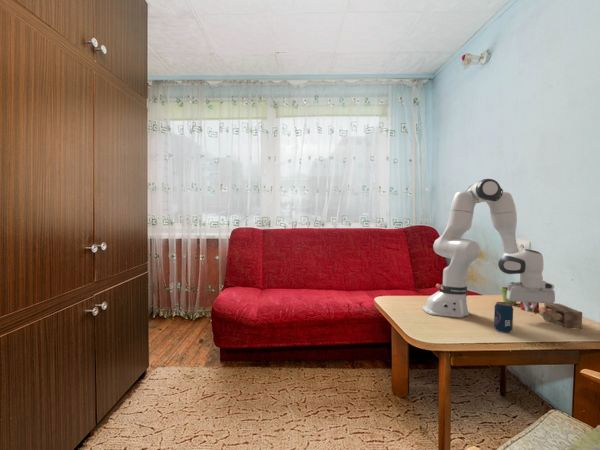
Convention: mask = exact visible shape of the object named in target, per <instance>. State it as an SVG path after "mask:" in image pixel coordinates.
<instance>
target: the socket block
mask: <svg viewBox="0 0 600 450" xmlns="http://www.w3.org/2000/svg"><path fill="white" fill-rule="evenodd" d="M543 304H544V306H543V307H545V308H546V309H553V313H561V314H564V321H559V320H551V321H550V322H551V323H553V324H556V325H558V326H560V327H561V328H563V329H572V328H576V330H582V328H583V312H582V311H579V310H577V309H574V308H572V307H569V306H568V305H564V304H561V303H556V302H554V303H553V304H549V303H543Z"/></svg>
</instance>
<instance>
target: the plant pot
mask: <svg viewBox="0 0 600 450" xmlns="http://www.w3.org/2000/svg"><path fill="white" fill-rule="evenodd" d="M500 290H501V293H502V300H503V301H502V302H506V303H510V304H512V305H513V306H515V305H517V301H510V300H508V299H507V298H506V295H507V290H508V286H500Z"/></svg>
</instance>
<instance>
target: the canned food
mask: <svg viewBox="0 0 600 450" xmlns="http://www.w3.org/2000/svg"><path fill="white" fill-rule="evenodd" d="M519 305H520V309H521V310H522V311H525V312H527V311H526V310H525V306H524V304H523V302H520V304H519ZM527 305H528V307H530V306H531V305H532V304H531V302H529V303H528V304H527ZM539 311H540V303H537V305H536V306H535V308H534V311H533V312H532V311H529V313H537V312H539Z"/></svg>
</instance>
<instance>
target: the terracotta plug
mask: <svg viewBox="0 0 600 450" xmlns="http://www.w3.org/2000/svg"><path fill="white" fill-rule="evenodd" d="M544 312H549V313H553V309H546V308H545V307H544V306H543V307H539V314H540V316H541V317H543V313H544Z"/></svg>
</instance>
